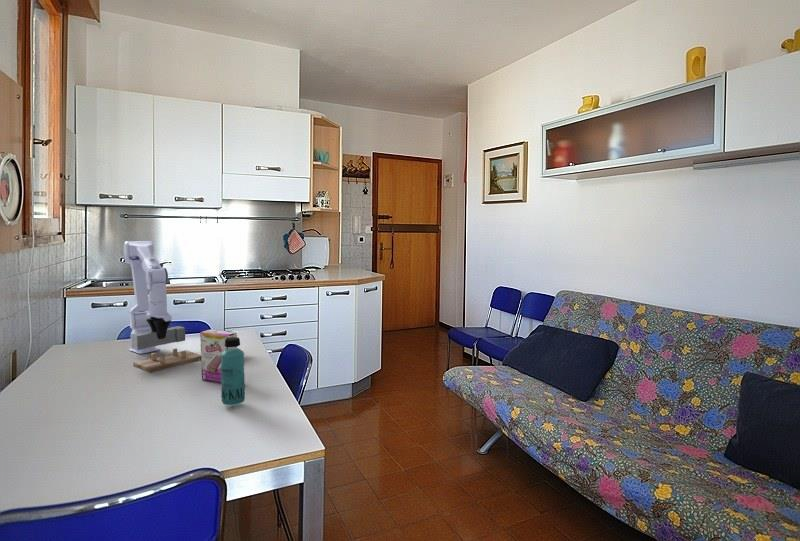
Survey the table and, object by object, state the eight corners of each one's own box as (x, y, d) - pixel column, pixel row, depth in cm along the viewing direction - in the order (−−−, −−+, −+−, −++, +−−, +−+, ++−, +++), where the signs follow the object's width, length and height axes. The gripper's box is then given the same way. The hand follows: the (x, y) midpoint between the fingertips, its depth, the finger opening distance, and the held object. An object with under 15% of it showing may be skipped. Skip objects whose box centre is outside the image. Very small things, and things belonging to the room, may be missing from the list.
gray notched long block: (137, 350, 163) (137, 336, 162) (131, 348, 165) (131, 334, 165) (185, 340, 177) (184, 327, 176) (179, 338, 179) (178, 325, 179)
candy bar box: (200, 380, 154) (199, 332, 152) (211, 376, 158) (210, 328, 157) (228, 385, 150) (227, 335, 148) (238, 380, 155) (237, 331, 153)
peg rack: (133, 365, 168) (132, 355, 168) (186, 353, 184) (185, 344, 184) (149, 372, 161) (149, 362, 161) (203, 358, 177) (202, 349, 177)
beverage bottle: (225, 401, 136) (223, 335, 134) (248, 401, 137) (246, 335, 135) (218, 410, 130) (216, 341, 128) (242, 410, 130) (241, 340, 128)
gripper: (136, 300, 170) (138, 336, 172) (156, 305, 162) (158, 343, 163) (156, 298, 176) (157, 333, 177) (176, 302, 168) (178, 339, 169)
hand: (159, 337), depth 171 cm, fingers closed on gray notched long block, 3 cm apart
